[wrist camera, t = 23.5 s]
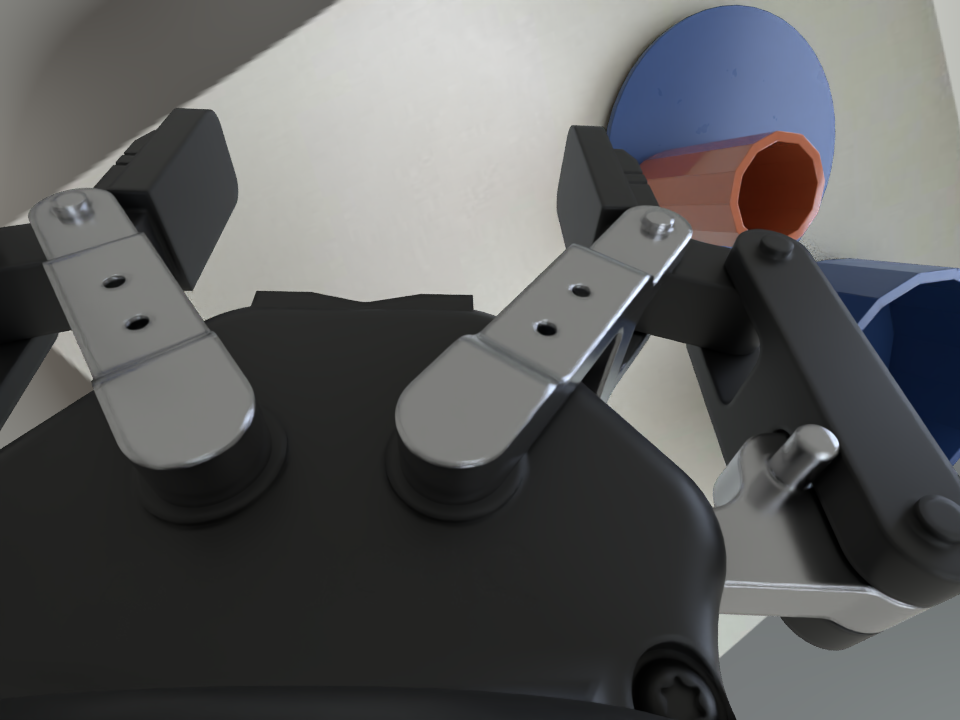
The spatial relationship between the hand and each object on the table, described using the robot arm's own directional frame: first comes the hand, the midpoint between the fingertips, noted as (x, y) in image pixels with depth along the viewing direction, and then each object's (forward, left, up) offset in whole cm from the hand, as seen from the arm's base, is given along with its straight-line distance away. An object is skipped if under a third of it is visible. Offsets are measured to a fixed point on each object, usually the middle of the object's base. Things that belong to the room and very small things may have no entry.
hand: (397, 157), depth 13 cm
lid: (+9, +24, -20) cm, 33 cm away
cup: (+10, +19, -20) cm, 29 cm away
